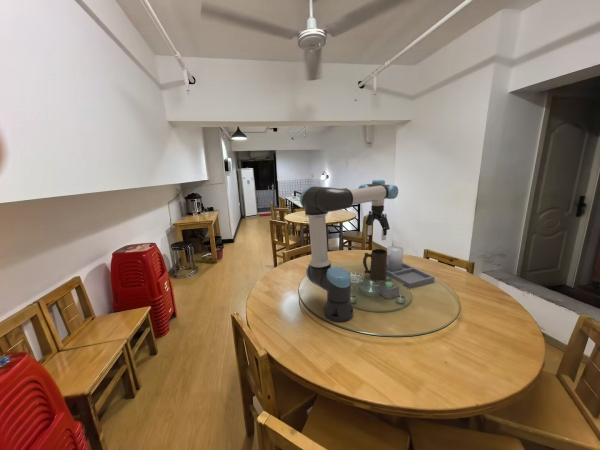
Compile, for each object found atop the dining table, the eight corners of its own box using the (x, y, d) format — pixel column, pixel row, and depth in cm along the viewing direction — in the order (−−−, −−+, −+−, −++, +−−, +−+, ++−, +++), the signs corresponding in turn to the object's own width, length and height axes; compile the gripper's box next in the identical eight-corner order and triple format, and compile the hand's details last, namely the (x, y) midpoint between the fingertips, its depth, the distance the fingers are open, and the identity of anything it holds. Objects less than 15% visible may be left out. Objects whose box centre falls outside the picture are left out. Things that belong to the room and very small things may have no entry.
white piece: (405, 271, 164) (406, 249, 160) (390, 274, 160) (392, 252, 156) (394, 265, 174) (395, 245, 170) (380, 268, 169) (381, 247, 166)
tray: (434, 282, 149) (434, 277, 148) (409, 289, 142) (409, 283, 141) (396, 264, 179) (396, 259, 178) (374, 269, 171) (374, 264, 171)
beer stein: (385, 275, 161) (384, 247, 157) (389, 282, 151) (389, 253, 147) (362, 276, 163) (361, 249, 159) (365, 283, 153) (364, 254, 148)
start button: (393, 293, 135) (394, 283, 134) (388, 294, 134) (388, 285, 133) (388, 290, 139) (389, 281, 137) (383, 291, 137) (384, 282, 136)
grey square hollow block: (398, 296, 134) (399, 286, 133) (387, 299, 132) (388, 289, 130) (389, 289, 142) (389, 280, 140) (378, 292, 139) (378, 283, 138)
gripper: (397, 206, 136) (395, 241, 140) (369, 202, 158) (369, 232, 163) (386, 207, 133) (385, 243, 138) (360, 203, 156) (360, 233, 161)
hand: (376, 237), depth 150 cm, fingers open, 13 cm apart
